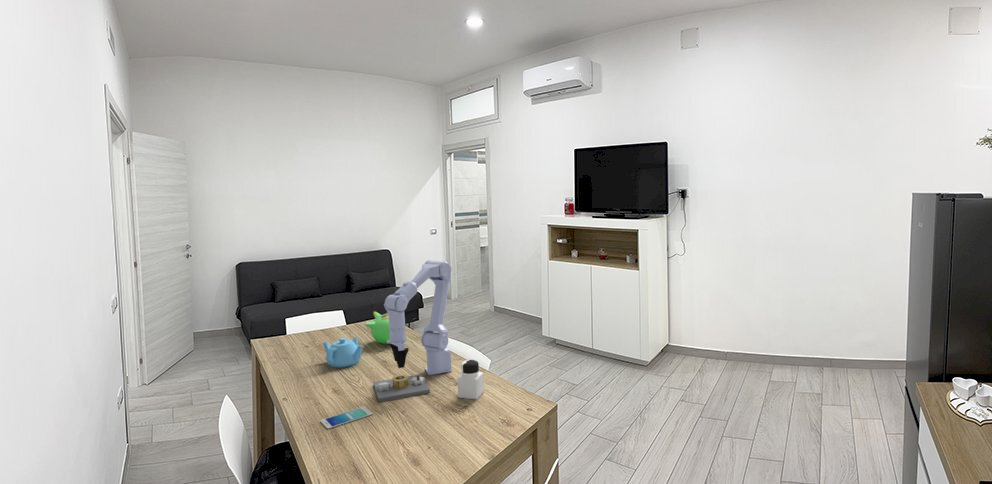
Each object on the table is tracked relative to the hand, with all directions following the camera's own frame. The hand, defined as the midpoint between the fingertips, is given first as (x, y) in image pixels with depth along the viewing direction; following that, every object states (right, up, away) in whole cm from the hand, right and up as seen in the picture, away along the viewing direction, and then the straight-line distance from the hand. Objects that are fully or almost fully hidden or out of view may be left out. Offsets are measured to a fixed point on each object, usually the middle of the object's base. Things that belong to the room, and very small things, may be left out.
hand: (399, 364), depth 178 cm
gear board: (0, -9, +1) cm, 9 cm away
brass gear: (0, -8, +1) cm, 8 cm away
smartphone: (-13, -13, -21) cm, 27 cm away
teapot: (-30, -8, +31) cm, 44 cm away
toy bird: (-17, -4, +57) cm, 60 cm away
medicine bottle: (+27, -9, -7) cm, 29 cm away
